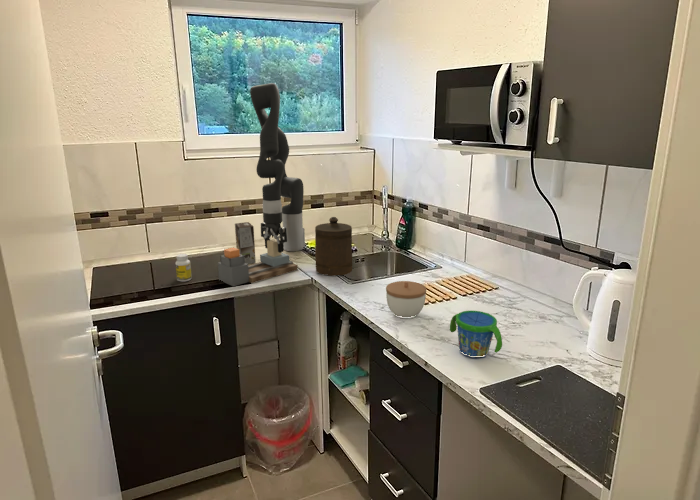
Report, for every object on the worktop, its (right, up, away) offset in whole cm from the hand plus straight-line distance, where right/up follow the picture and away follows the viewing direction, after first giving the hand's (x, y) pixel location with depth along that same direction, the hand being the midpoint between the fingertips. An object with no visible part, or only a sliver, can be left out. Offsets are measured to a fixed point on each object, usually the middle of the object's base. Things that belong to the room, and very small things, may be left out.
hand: (274, 250), depth 196 cm
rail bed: (-4, -9, -1) cm, 9 cm away
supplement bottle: (-33, -11, -9) cm, 36 cm away
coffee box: (-14, -5, +13) cm, 20 cm away
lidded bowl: (+48, -21, -41) cm, 67 cm away
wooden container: (+24, -8, +1) cm, 26 cm away
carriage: (0, -5, +1) cm, 5 cm away
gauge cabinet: (-14, -12, -11) cm, 21 cm away
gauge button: (-14, -3, -14) cm, 19 cm away
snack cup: (+64, -28, -65) cm, 95 cm away
